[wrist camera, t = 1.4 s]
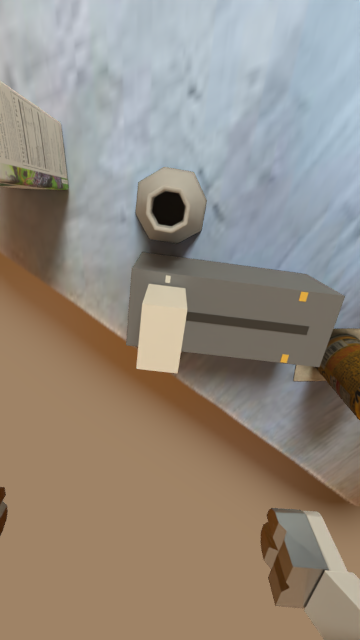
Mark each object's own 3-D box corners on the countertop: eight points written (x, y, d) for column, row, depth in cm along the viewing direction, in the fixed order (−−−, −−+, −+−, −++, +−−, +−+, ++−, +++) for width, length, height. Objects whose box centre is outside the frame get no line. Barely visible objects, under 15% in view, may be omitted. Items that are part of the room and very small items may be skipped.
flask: (211, 237, 31) (225, 253, 21) (143, 249, 31) (128, 269, 22) (201, 160, 28) (213, 140, 19) (127, 173, 28) (103, 160, 19)
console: (137, 313, 34) (126, 345, 26) (142, 252, 31) (131, 268, 24) (288, 331, 35) (319, 367, 27) (306, 274, 32) (345, 296, 25)
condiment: (358, 380, 38) (435, 455, 27) (293, 380, 38) (342, 455, 26) (373, 327, 35) (465, 387, 24) (302, 327, 35) (361, 387, 24)
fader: (143, 338, 26) (136, 368, 21) (148, 283, 24) (142, 303, 19) (177, 342, 26) (177, 373, 21) (185, 288, 24) (187, 309, 19)
